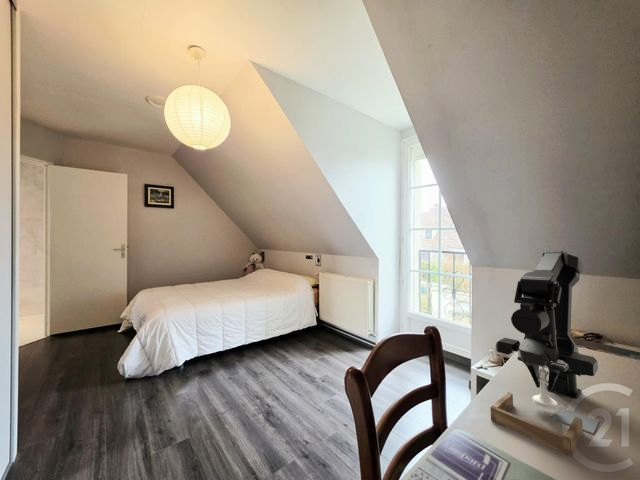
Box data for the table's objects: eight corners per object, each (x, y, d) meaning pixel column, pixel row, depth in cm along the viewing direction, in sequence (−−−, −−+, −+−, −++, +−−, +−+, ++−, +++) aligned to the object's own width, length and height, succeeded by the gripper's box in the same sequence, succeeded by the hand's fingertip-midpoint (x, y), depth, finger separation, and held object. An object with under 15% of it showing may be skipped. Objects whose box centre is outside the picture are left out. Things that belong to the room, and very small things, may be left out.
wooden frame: (508, 403, 69) (508, 392, 69) (582, 432, 58) (581, 418, 58) (491, 420, 63) (490, 407, 63) (570, 456, 51) (569, 440, 51)
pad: (559, 407, 67) (559, 406, 67) (599, 422, 61) (599, 420, 61) (551, 418, 63) (551, 417, 63) (593, 434, 57) (593, 433, 57)
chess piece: (532, 395, 68) (530, 357, 69) (557, 402, 65) (555, 361, 66) (532, 404, 65) (529, 363, 65) (559, 412, 62) (556, 368, 62)
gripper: (485, 324, 69) (489, 384, 68) (585, 343, 54) (591, 421, 53) (502, 317, 75) (505, 372, 74) (595, 332, 60) (600, 401, 59)
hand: (544, 389), depth 65 cm, fingers closed on chess piece
